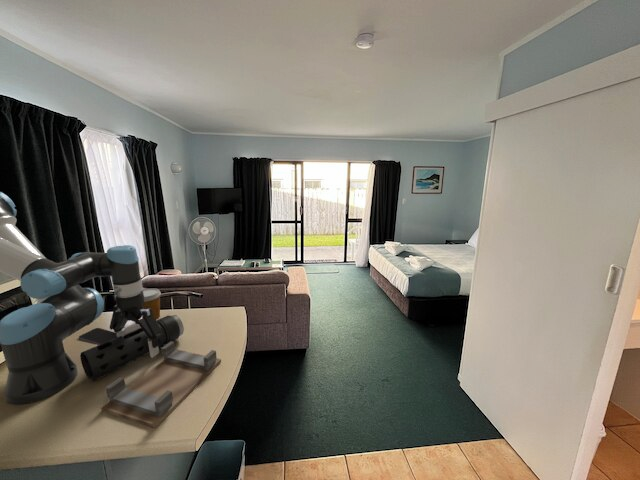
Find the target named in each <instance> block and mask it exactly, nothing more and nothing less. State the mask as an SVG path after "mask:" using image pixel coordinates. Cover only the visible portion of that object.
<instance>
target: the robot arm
mask: <svg viewBox="0 0 640 480" xmlns="http://www.w3.org/2000/svg"><path fill="white" fill-rule="evenodd" d="M15 207H16V205H15V203H14V201H13V200H12V199H11V198H10V197H9V196H8V195H7V194H5V193H4V192H3V191H0V273H2V274H5V275H6V276H8V277H11V278H13V279H15V280H18V281H19V282H20V289H21V290H22V292H24V293H26V295H27V296H28V298H29V297H30V298H31V299H35V300H37V303H35V304H31V305H29V306H26V307H25V306H24V307H21V308H19V309H17V310H14V311H12V312H10V313H8V314H6V315H5V316H4V317H2V318H1V320H0V347H1V351H2V353H3V357H4V361H5V363H6V367H7V370H8V375H7V380H6V384H5V389H4V394H5V399H6V401H7V403H9V404H11V405H12V404H13V405H23V404H25V405H26V404H29V403H33V402H37V401H40V400H42V399H46V398H48V397H50V396H52V395H54V394H56V393H58V392H60V391H61V390H63V389H65V388H66V387H68V386H69V385H70V384H71V383H72V382H74V380H75V379H76V378H77V376H78V367H77V365H76V363H75V362H74V361H73V360H72V359H71V358H70V356H69V355H68V354H67V353H66V351H65V345H64V342H63V341H64V340H66V338H69V337H70V336H72V335H74V334H75V333H76V332H78V331H79V330H81V329H83V328H85V327H87V326H89V325H91V324H92V323H93V322H94V321H95V320H97V319H99V317H101V316H102V314H103V312H104V306H105V303H104V298H103V296H102V295H101V293H99V291H97V290H96V289H94V288H91V287H82V286H81V285H80V284H83V283H85V282H88V281H89V280H92V279H94V278H97V277H98V278H99V277H102V278H108V277H109V278H110V277H111V278H110V279H111V281H112V285H113V290H114V291H113V292H114V296H115V298H114V299H115V305H113V306H112V314H111V319H110V324H109V330H110V331H112V330H113V332H115V333H116V337H120V336H122V335H124V334H127V331H126V325H127V323H128V322H129V321H131V322H134V323H135V324H136V325H139V328H142V329H143V331H144V332H145V333H146V335H147V336H148V337H149V338H150V339H148V345H149V351H150V352H149V356H150V358H151V359H152V358H154V357H156V356H157V355H159V354H160V349H159V348H158V346H159V342H158V337H160V336H161V335H163V333H162V331H161V329H160V327H159V325H158V324H157V322H156V321H157V320H155V318H154V316H153V314H152V310H151V308H148V309H143V306H142V305H143V303H144V294H143V291H142V290H144V289H143V281H142V277H141V271H140V263H139V256H138V252H137V248H136V247H135V246H133V245H131V244H130V245H129V244H125V245H116V246H111V247H110V248H108V249H107V251H106V252H93V251H92V252H91V251H90V252H89V251H84V252H77V253H74V254H72V255H71V257H69V258H68V259H67V260H64V261H60V262H54V261H53V260H50V259H48V258H47V257H45V255H44V254H43V253H42V252H41V251H40V250H39V249H38V248H37V247H36V246H35V245H34V244H33V243H32V242H31V241H30V240H29V239H28V238H27V236H26V235H25V234H23V232H21V230H20V229H19V228H18V227H17V226H16V224H17V218H16V216H17V212H18V211H17V209H16V208H15ZM142 317H143V318H142Z"/></svg>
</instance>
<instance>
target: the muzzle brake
mask: <svg viewBox="0 0 640 480" xmlns="http://www.w3.org/2000/svg"><path fill="white" fill-rule="evenodd" d="M156 322H157V324H158V325H159V327H160V329H161V331H162V333H163V335H161V336H160V337H158V342H159V346H158V348H159V350H160V349H161V348H162V347H164V346H165V345H166V344H168V343H169V342H171V341H172V342H175V341H176V340H178V339H179V338H180V336H182V335H183V334H184V330H185V328H184V324H183V321H182V319H181V318H180V316H178V315H177V314H173V315H165V316H163V317H160V318H158V319H157V320H156ZM148 339H150V338H149V337H148V336H147V335H146V333H145V332H144V331H143V329H142V328H141V327H139V328H136V329H134V330H132V331H129V332H126V334H124V335H122V336H120V337H117V338H115V339H112V340H110V341H108V342H105V343H103V344H100V345H99V344H97V345H96V346H94V347H91V348H89V349H86V350H84V351H81V353H80V356H79V357H80V363H81V365H82V369H83V371H84V374H85V375H86V377H87V378H88V379H89V380H90V381H92V382H94V381H96V380H99V379H101V378H103V377H105V376H106V375H107V376H108V374H111V373H113V372H115V371H117V370H118V369H120V368H123V367H125V366H126V365H127V366H128V364H130V363H131V362H133V361H134V362H135V361H137V359H139V358H140V357H143V356H145V355H147V354H150V351H149V345H148Z"/></svg>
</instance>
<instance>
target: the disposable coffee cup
mask: <svg viewBox="0 0 640 480" xmlns="http://www.w3.org/2000/svg"><path fill="white" fill-rule="evenodd" d="M142 291H143V294H144V303H143V305H142V306H143V309H148V308H151V310H152V314H153V316H154V318H155V320H156V321H157V320H158V319H160V318H161V313H160V312H161V295H162V293H161V291H160V289H158V288H147V289H143V290H142ZM142 318H143V317H141V319H142Z"/></svg>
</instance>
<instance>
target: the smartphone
mask: <svg viewBox="0 0 640 480" xmlns="http://www.w3.org/2000/svg"><path fill="white" fill-rule="evenodd" d="M115 338H117V337H116V332H114V331H112V330H107V329H104V328H101V327H96V328H93V329H91V330H89V331H87V332H85V333H82V334H81V335H79V336H78V340H80V341H81V340H82V341H84V342H88V343H92V344H96V345H100V344H103V343H105V342H108V341H110V340H112V339H115Z"/></svg>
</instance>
